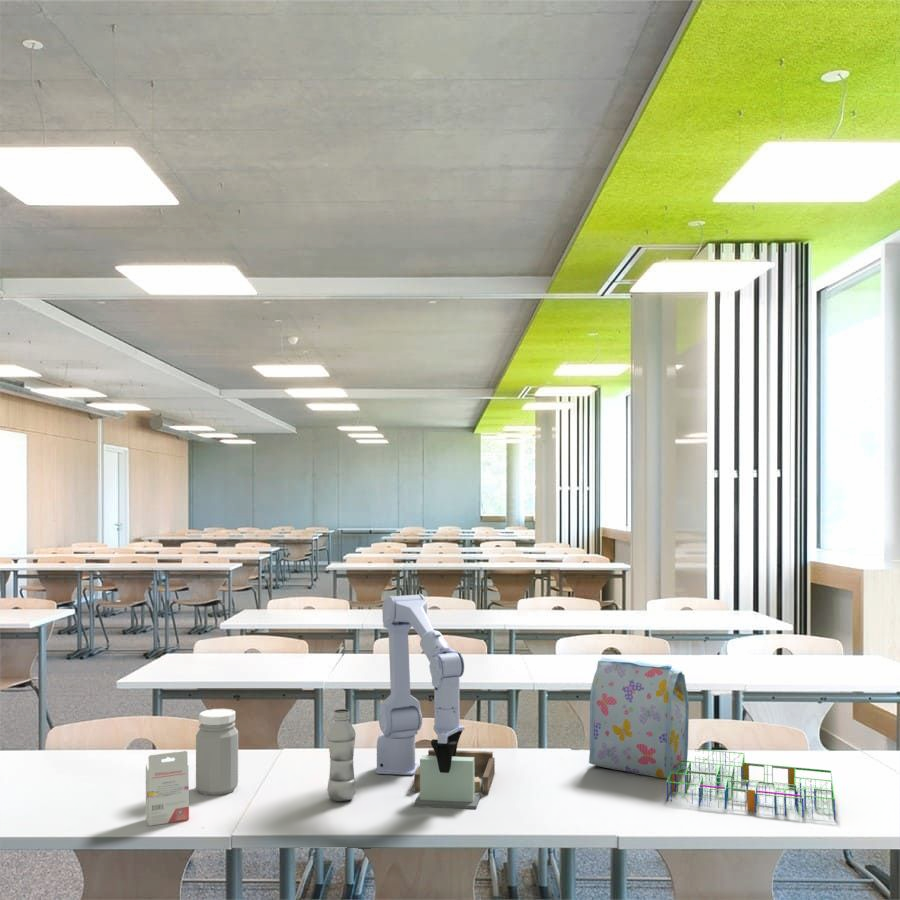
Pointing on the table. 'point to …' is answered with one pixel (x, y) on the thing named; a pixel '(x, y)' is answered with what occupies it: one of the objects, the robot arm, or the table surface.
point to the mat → (448, 803)
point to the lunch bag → (638, 717)
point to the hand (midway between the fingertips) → (447, 767)
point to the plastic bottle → (341, 757)
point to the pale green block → (447, 780)
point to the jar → (217, 752)
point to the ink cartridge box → (167, 788)
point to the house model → (751, 794)
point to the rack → (482, 765)
